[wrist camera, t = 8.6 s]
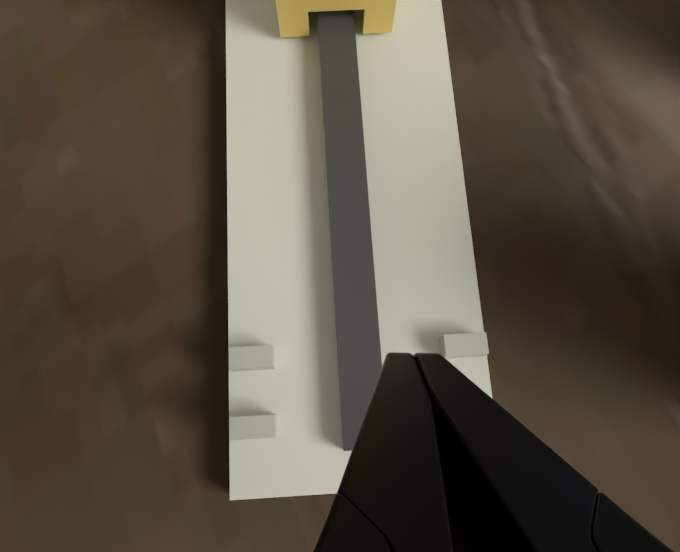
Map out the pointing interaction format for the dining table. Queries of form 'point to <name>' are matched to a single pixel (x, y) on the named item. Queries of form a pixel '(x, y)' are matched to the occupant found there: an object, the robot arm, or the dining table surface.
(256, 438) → the white slide rail base
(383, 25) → the yellow sliding block
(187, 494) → the dining table surface
